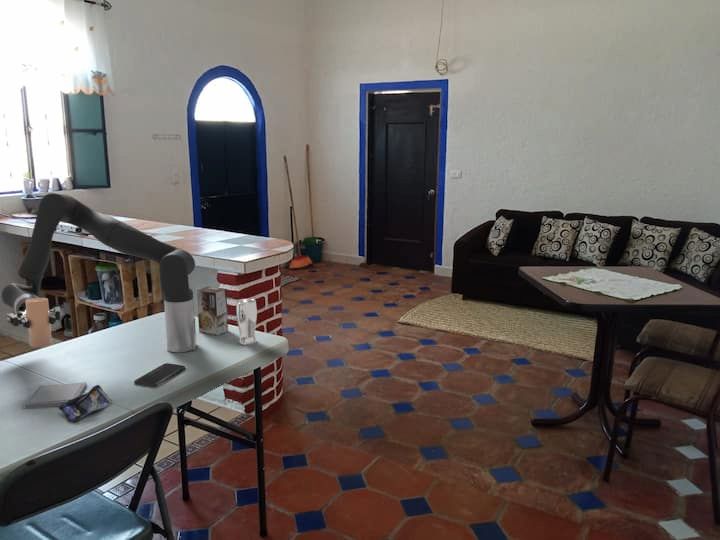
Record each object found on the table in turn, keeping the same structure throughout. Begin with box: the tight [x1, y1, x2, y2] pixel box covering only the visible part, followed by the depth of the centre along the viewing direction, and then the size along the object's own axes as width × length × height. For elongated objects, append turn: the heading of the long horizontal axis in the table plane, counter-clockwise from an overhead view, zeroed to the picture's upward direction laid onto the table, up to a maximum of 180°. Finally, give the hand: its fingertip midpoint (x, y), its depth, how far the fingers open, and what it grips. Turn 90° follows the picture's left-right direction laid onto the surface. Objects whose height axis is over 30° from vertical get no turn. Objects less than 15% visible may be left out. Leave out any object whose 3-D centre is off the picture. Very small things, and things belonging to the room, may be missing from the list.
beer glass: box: [235, 298, 258, 346], centre depth 192 cm, size 7×7×15 cm
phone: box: [133, 362, 187, 389], centre depth 164 cm, size 8×1×15 cm
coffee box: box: [196, 286, 229, 336], centre depth 202 cm, size 9×6×16 cm
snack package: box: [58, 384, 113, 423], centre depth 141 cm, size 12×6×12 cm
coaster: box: [24, 382, 88, 409], centre depth 149 cm, size 12×12×1 cm
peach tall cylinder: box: [25, 297, 53, 348], centre depth 156 cm, size 6×6×13 cm
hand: (40, 322), depth 154 cm, fingers closed on peach tall cylinder, 5 cm apart
